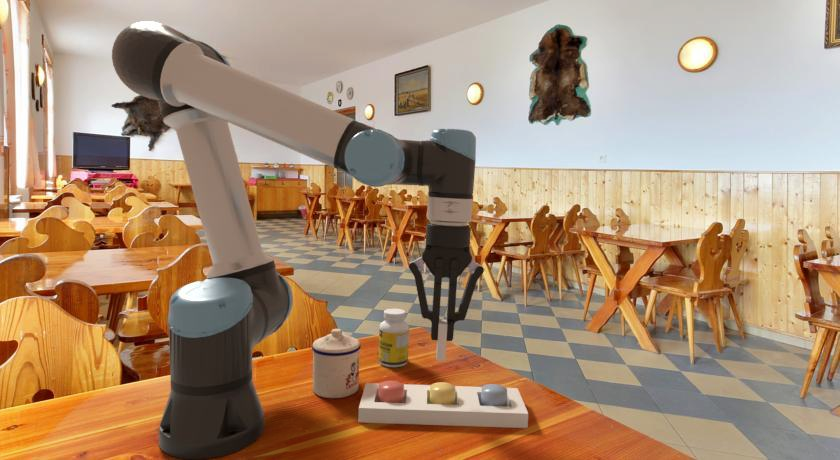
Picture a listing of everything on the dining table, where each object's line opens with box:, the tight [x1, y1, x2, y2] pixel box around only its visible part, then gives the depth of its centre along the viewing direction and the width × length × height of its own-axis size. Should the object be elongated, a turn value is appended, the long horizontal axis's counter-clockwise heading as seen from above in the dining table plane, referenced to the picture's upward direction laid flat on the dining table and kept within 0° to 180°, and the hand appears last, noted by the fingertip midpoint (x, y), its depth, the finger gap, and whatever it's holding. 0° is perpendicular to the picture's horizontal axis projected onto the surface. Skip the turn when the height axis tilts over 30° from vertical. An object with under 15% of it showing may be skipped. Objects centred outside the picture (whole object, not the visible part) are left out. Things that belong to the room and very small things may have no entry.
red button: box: [378, 380, 404, 403], centre depth 87 cm, size 4×4×4 cm
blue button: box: [480, 383, 507, 407], centre depth 87 cm, size 4×4×4 cm
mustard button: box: [430, 381, 456, 405], centre depth 87 cm, size 4×4×4 cm
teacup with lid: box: [311, 328, 361, 399], centre depth 96 cm, size 12×9×12 cm
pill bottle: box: [378, 308, 410, 368], centre depth 109 cm, size 6×6×12 cm
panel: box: [357, 382, 529, 429], centre depth 87 cm, size 28×10×2 cm, turn 89°
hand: (440, 358), depth 86 cm, fingers closed
